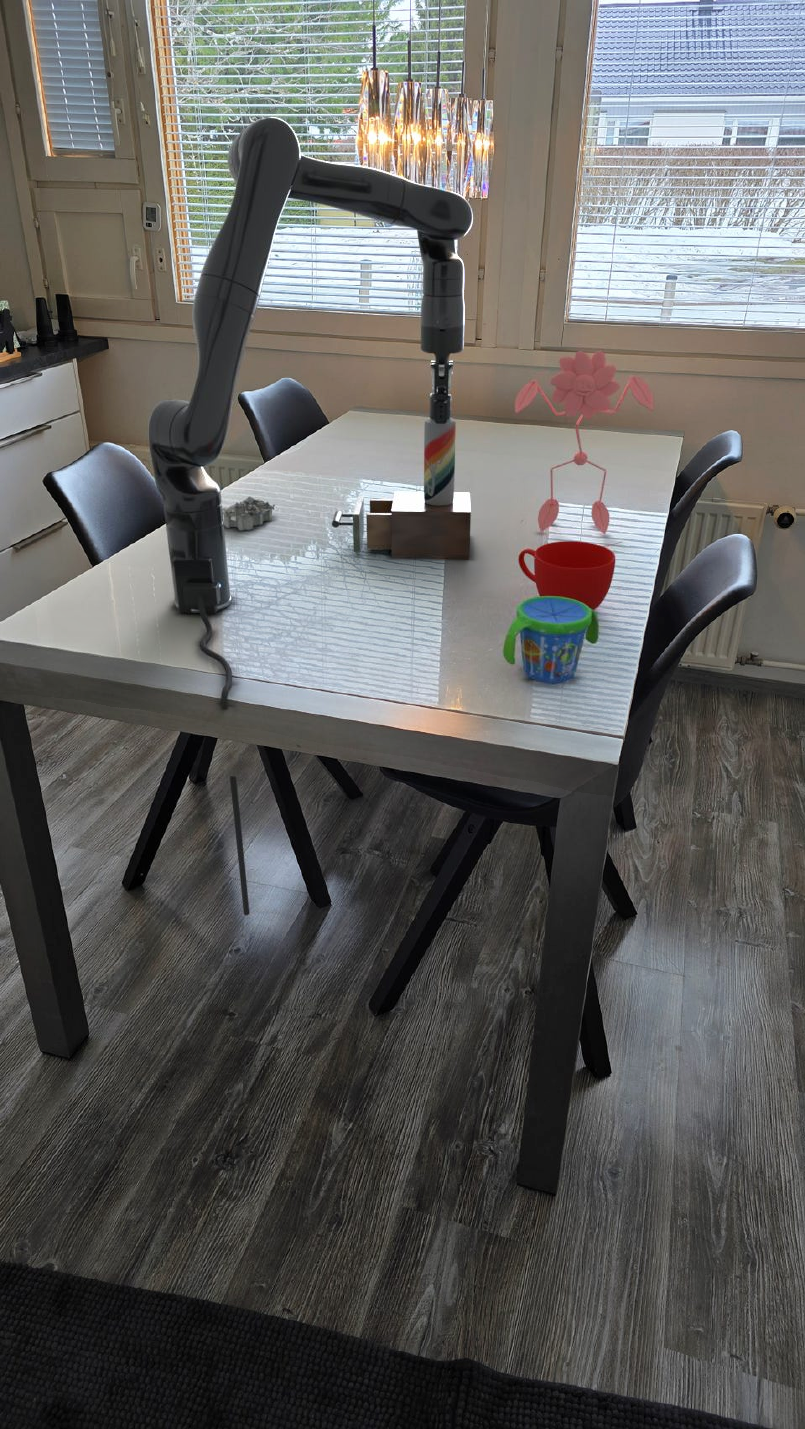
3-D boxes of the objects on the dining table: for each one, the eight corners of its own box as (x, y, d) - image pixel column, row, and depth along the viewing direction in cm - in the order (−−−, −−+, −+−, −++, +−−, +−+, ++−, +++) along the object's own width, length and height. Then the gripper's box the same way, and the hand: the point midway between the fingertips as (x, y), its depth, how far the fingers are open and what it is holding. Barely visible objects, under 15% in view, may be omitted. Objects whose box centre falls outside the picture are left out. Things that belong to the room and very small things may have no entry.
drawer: (331, 551, 189) (329, 514, 185) (337, 532, 198) (335, 496, 195) (425, 552, 188) (425, 515, 184) (426, 533, 197) (426, 497, 194)
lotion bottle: (418, 503, 187) (419, 393, 178) (432, 495, 192) (433, 388, 182) (445, 508, 185) (448, 397, 175) (458, 499, 190) (461, 391, 180)
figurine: (510, 520, 207) (519, 342, 190) (637, 527, 203) (658, 346, 186) (503, 545, 194) (512, 356, 177) (639, 553, 190) (661, 361, 173)
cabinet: (391, 558, 188) (391, 511, 184) (394, 536, 199) (394, 491, 194) (469, 559, 188) (470, 512, 183) (468, 537, 198) (469, 492, 194)
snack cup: (575, 650, 153) (581, 587, 148) (614, 678, 145) (622, 614, 140) (484, 668, 148) (487, 604, 143) (520, 699, 139) (524, 632, 134)
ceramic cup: (537, 585, 176) (541, 530, 171) (624, 609, 167) (630, 552, 162) (495, 608, 167) (498, 551, 162) (584, 634, 158) (589, 575, 153)
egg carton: (245, 532, 201) (244, 513, 199) (217, 526, 205) (215, 506, 203) (279, 518, 209) (277, 499, 207) (251, 512, 212) (249, 493, 210)
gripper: (421, 316, 179) (421, 409, 187) (419, 328, 167) (419, 427, 175) (463, 316, 179) (461, 409, 187) (464, 328, 167) (462, 427, 175)
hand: (440, 417), depth 181 cm, fingers open, 8 cm apart
